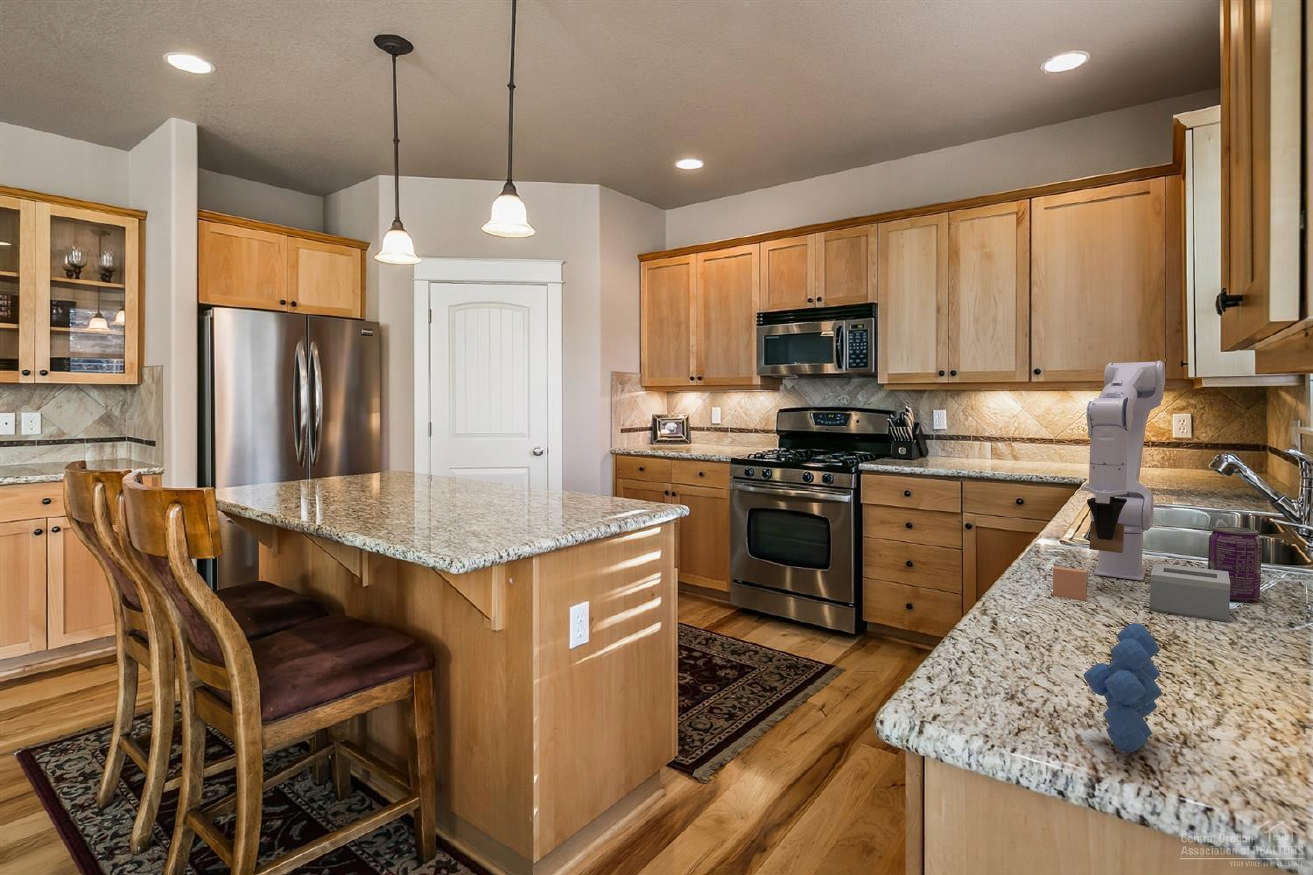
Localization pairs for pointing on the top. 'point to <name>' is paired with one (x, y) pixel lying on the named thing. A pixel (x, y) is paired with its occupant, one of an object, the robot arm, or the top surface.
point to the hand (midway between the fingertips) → (1105, 538)
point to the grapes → (1128, 687)
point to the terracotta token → (1070, 583)
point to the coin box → (1190, 592)
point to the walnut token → (1107, 545)
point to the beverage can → (1237, 559)
